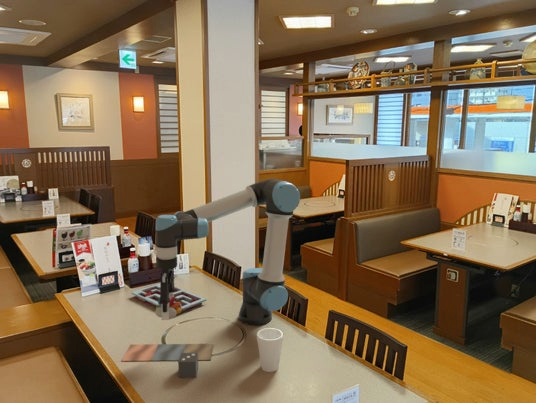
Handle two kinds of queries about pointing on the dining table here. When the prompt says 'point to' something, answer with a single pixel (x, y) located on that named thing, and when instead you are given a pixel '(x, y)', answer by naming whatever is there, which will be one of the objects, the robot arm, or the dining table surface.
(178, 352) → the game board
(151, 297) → the maze game
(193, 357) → the die
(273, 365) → the foam cup
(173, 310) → the multicoloured rounded cluster
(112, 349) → the dining table surface
